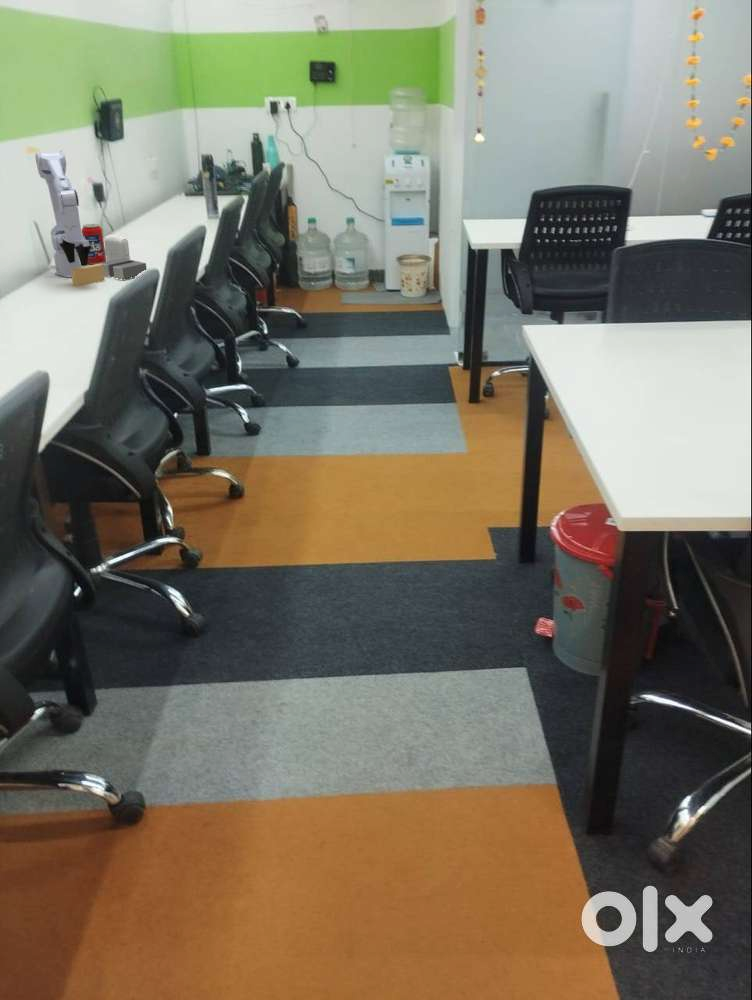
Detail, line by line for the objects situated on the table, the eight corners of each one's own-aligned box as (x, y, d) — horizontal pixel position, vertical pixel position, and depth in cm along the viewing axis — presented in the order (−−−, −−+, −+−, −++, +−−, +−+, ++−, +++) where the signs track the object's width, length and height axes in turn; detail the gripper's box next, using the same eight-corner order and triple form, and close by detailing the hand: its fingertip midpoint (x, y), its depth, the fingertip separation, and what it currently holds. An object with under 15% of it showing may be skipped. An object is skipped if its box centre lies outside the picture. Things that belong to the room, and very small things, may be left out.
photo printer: (132, 267, 336) (128, 235, 331) (125, 269, 333) (120, 237, 327) (113, 264, 341) (109, 232, 335) (106, 266, 338) (101, 234, 332)
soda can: (109, 261, 345) (104, 223, 338) (102, 265, 338) (96, 227, 331) (91, 260, 346) (85, 223, 339) (83, 265, 339) (77, 226, 332)
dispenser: (100, 275, 324) (99, 263, 322) (125, 269, 332) (123, 258, 330) (122, 280, 317) (121, 268, 315) (147, 275, 325) (145, 263, 323)
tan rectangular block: (73, 285, 310) (70, 269, 307) (100, 279, 318) (98, 263, 316) (77, 286, 309) (74, 270, 306) (104, 280, 317) (102, 264, 314)
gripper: (93, 226, 300) (99, 264, 306) (69, 221, 308) (75, 259, 314) (76, 229, 295) (82, 268, 302) (52, 224, 303) (59, 262, 309)
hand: (78, 264), depth 308 cm, fingers open, 7 cm apart
